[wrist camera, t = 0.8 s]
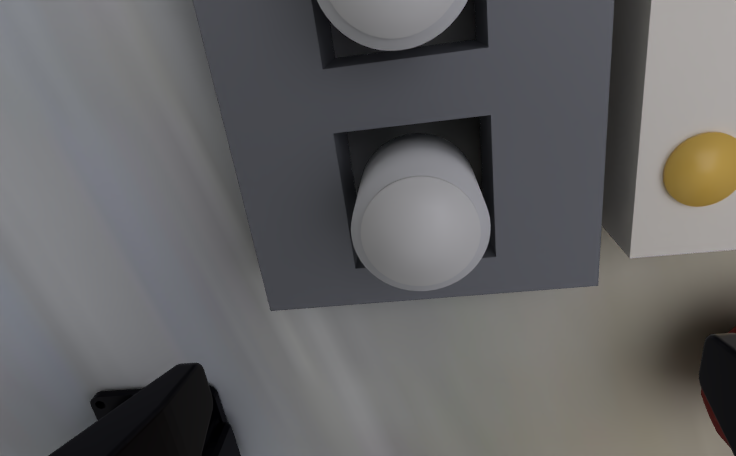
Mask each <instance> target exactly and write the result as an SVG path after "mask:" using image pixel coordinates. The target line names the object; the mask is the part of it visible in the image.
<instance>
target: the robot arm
mask: <svg viewBox="0 0 736 456" xmlns="http://www.w3.org/2000/svg"><path fill="white" fill-rule="evenodd" d="M699 381H700V385H701V388H702V390H703V392H704V394H705V397H706V399H707V401H708V403H709V405H710V407H711V409H712V411H713V413H714V415H715V417H716V419H717V421H718V423H719V425H720V427H721V429H722V431H723V433H724V435H725V437H726V439H727V441H728V444H729V446H730V448H731V450H732V452H733V454H734V456H736V333H724V334H711V335H709V336H708V337H707V338H706V340H705V343H704V348H703V353H702V359H701V364H700V370H699ZM90 403H91V407H92V409H93V411H94V413H95V415H96V417H97V419H98V421H97V422H95V423H94V424H92V425H91V426H90V427H88V428H87V429H85V430H84V431H83V432H81V433H80V434H78V435H77V436H75V437H74V438H73V439H71V440H70V441H68V442H67V443H66V444H64V445H63V446H61V447H60V448H59V449H57V450H56V451H54V452H53V453H51V454H50V455H49V456H241V455H240V452H239V449H238V446H237V443H236V440H235V436H234V433H233V430H232V427H231V425H230V424H229V423H228V422H227V419H226V416H225V413H224V410H223V407H222V404H221V401H220V398H219V395H218V392H217V390H216V389H215V388H214V387H211V386H209V384H208V381H207V378H206V375H205V371H204V369H203V367H202V365H201V364H199V363H184V364H178V365H176V366H174V367H173V368H172V369H170V370H169V371H167V372H166V373H165V374H163V375H162V376H160V377H159V378H157V379H156V380H155V381H153V382H152V383H150V384H149V385H148V386H146V387H145V388H143V389H135V390H119V391H102V392H98V393H97V394H95V396H94V397H93V398H92V400H91V402H90Z"/></svg>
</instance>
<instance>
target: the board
mask: <svg viewBox="0 0 736 456" xmlns="http://www.w3.org/2000/svg"><path fill="white" fill-rule="evenodd" d="M193 3H194V7H195V11H196V15H197V19H198V23H199V27H200V31H201V35H202V39H203V43H204V47H205V51H206V55H207V59H208V63H209V67H210V71H211V75H212V79H213V83H214V87H215V91H216V95H217V99H218V103H219V107H220V111H221V115H222V119H223V123H224V127H225V131H226V135H227V139H228V143H229V147H230V151H231V155H232V159H233V163H234V167H235V171H236V175H237V179H238V183H239V187H240V191H241V195H242V199H243V203H244V207H245V211H246V215H247V219H248V223H249V227H250V231H251V235H252V239H253V243H254V247H255V251H256V255H257V259H258V263H259V267H260V271H261V274H262V278H263V282H264V286H265V290H266V294H267V298H268V302H269V306H270V310H271V311H275V310H288V309H301V308H314V307H327V306H340V305H353V304H366V303H379V302H392V301H405V300H418V299H431V298H444V297H457V296H470V295H483V294H496V293H509V292H522V291H535V290H548V289H561V288H574V287H587V286H598V278H599V260H600V243H601V225H602V208H603V190H604V173H605V155H606V138H607V120H608V103H609V85H610V68H611V50H612V33H613V16H614V0H474V8H475V30H476V39H475V40H468V41H460V42H453V43H445V44H438V45H431V46H423V47H416V48H410V49H405V50H396V51H386V52H379V53H371V54H364V55H356V56H349V57H342V58H335V55H334V48H333V42H332V35H331V29H330V22H329V19H328V18H327V17H326V15H325V14H324V12H323V11H322V9H321V8H320V6H319V4H318V2H317V0H193ZM478 116H479V118H480V140H481V162H482V185H483V198H484V201H485V203H486V206H487V209H488V213H489V216H490V224H491V227H490V238H489V243H488V246H487V249H486V251H485V253H484V255H483V257H482V258H481V260H480V261H479V263H478V264H477V265H476V267H475V268H474V269H473V270H472V271H471V272H470V273H469V274H467V275H466V276H465V277H463V278H462V279H460V280H459V281H457V282H455V283H453V284H451V285H449V286H446V287H444V288H440V289H436V290H430V291H410V290H404V289H400V288H397V287H394V286H391V285H389V284H387V283H385V282H383V281H381V280H380V279H378V278H377V277H376V276H374V275H373V274H372V273H371V272H370V271H369V270H368V269H367V268H366V267H365V266H364V265H363V263H362V262H361V261H360V259H359V257H358V255H357V253H356V251H355V248H354V246H353V242H352V236H351V221H352V216H353V211H354V207H355V203H356V199H357V198H356V192H355V185H354V179H353V172H352V166H351V159H350V153H349V146H348V140H347V133H346V132H350V131H358V130H367V129H375V128H384V127H393V126H401V125H410V124H418V123H427V122H435V121H444V120H452V119H461V118H469V117H478Z"/></svg>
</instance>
